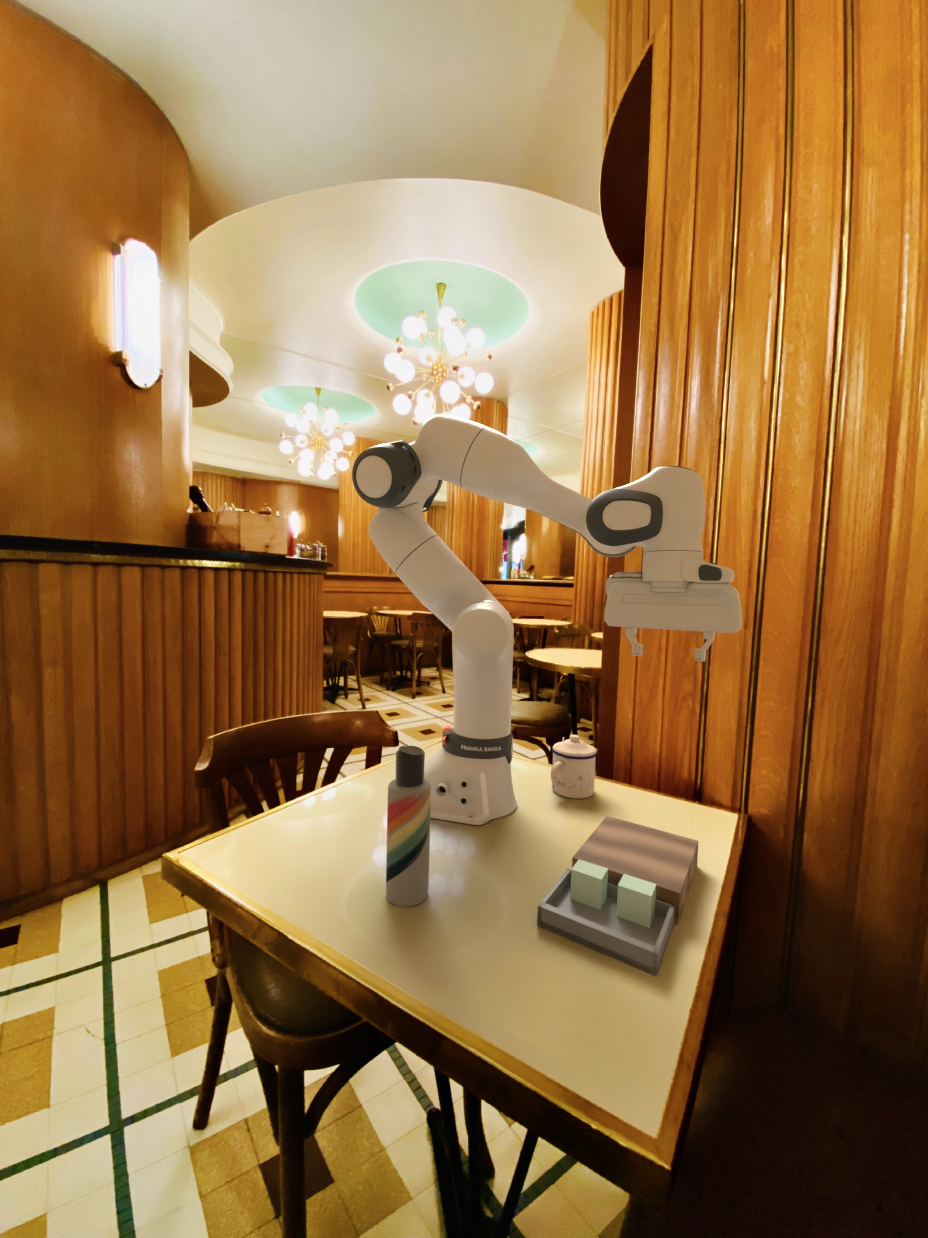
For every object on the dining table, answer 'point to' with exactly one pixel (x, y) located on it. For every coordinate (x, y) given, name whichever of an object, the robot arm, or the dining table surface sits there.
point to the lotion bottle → (408, 830)
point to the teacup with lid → (573, 768)
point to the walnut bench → (644, 858)
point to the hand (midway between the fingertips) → (667, 657)
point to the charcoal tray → (607, 926)
